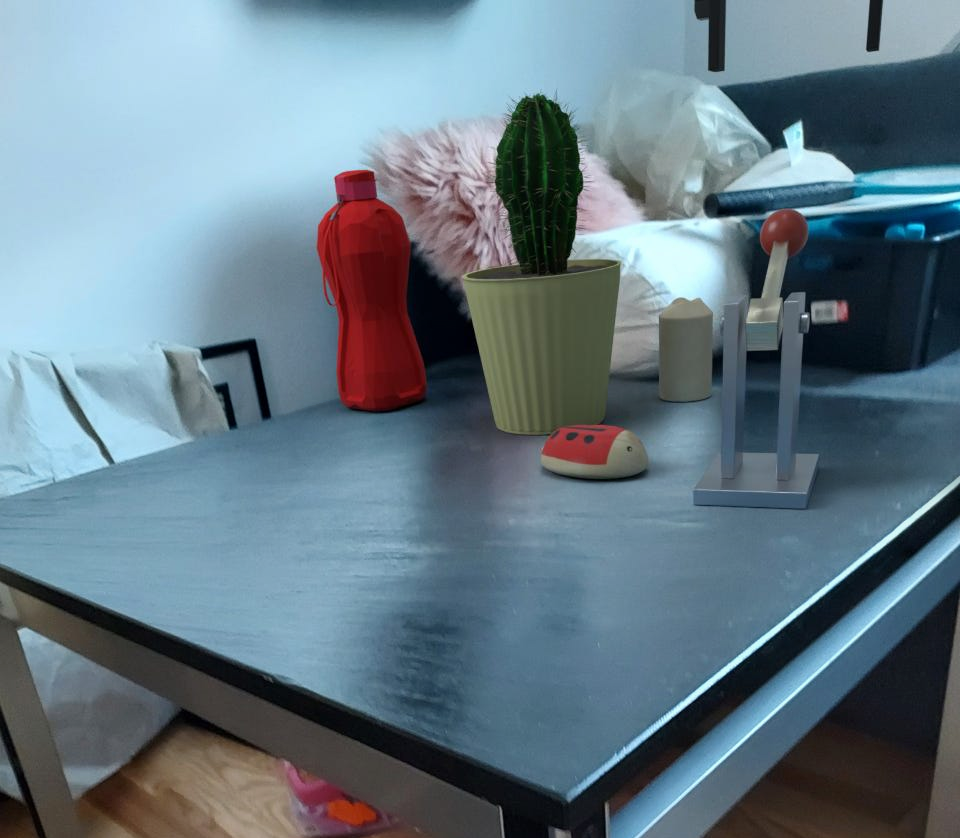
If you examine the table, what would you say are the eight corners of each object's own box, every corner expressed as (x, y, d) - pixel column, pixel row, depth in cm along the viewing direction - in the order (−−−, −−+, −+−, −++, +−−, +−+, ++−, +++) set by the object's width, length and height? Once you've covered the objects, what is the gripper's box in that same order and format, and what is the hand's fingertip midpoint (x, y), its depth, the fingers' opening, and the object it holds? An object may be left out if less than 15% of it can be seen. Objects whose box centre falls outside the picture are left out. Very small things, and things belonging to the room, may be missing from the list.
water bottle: (318, 412, 112) (280, 177, 101) (387, 392, 119) (357, 170, 108) (370, 419, 106) (335, 171, 95) (439, 398, 113) (414, 164, 102)
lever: (763, 243, 77) (762, 201, 74) (810, 239, 75) (811, 197, 73) (736, 358, 69) (734, 316, 67) (788, 357, 68) (787, 314, 65)
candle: (651, 395, 104) (649, 299, 100) (696, 388, 105) (697, 293, 101) (673, 404, 100) (672, 304, 95) (720, 397, 101) (722, 297, 96)
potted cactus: (465, 414, 104) (435, 101, 91) (601, 397, 106) (591, 87, 93) (488, 448, 90) (457, 86, 77) (644, 428, 92) (640, 69, 79)
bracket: (716, 466, 79) (720, 290, 73) (818, 468, 76) (830, 285, 70) (693, 504, 71) (694, 310, 65) (805, 509, 68) (818, 306, 62)
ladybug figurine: (630, 486, 76) (629, 442, 74) (523, 477, 81) (520, 436, 79) (662, 463, 81) (662, 421, 79) (558, 455, 86) (556, 416, 84)
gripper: (1014, -388, 58) (965, 41, 67) (645, -285, 66) (649, 83, 76) (1025, -449, 51) (969, 33, 61) (617, -327, 60) (625, 79, 70)
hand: (792, 60), depth 69 cm, fingers open, 10 cm apart
